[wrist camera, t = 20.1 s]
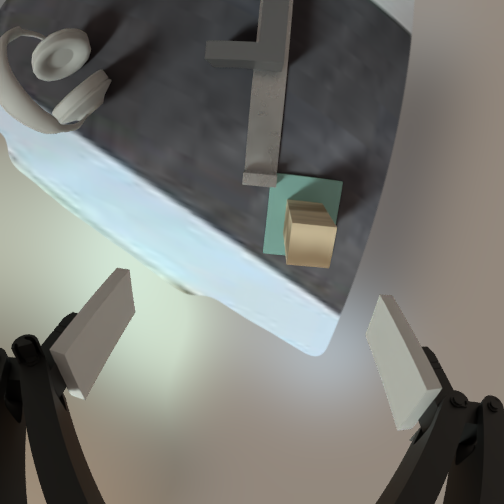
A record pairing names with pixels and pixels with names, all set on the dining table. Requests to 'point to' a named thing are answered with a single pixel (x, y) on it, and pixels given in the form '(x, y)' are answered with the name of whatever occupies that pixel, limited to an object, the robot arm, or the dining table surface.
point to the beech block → (308, 234)
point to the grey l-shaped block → (255, 43)
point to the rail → (266, 119)
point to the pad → (301, 191)
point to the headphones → (52, 68)
